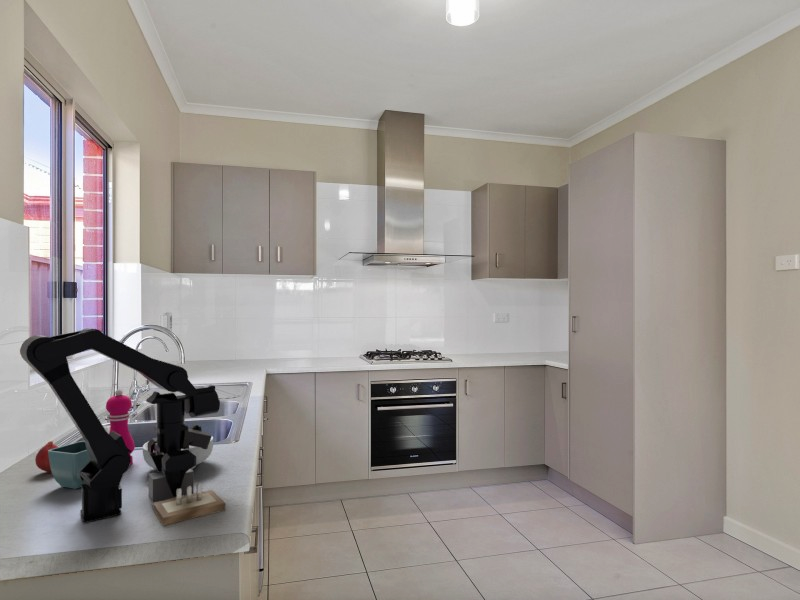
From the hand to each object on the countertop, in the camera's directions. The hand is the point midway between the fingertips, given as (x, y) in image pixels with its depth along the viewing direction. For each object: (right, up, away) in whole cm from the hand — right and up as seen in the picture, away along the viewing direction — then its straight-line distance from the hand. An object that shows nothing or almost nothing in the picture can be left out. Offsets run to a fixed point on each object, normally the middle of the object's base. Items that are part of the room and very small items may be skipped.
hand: (171, 490), depth 114 cm
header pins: (+7, 0, -8) cm, 11 cm away
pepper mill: (-23, -1, +20) cm, 31 cm away
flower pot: (-25, -1, +6) cm, 26 cm away
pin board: (+7, -1, -8) cm, 11 cm away
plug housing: (0, -1, 0) cm, 1 cm away
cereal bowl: (-6, -1, +18) cm, 19 cm away
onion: (-37, -1, +14) cm, 40 cm away
